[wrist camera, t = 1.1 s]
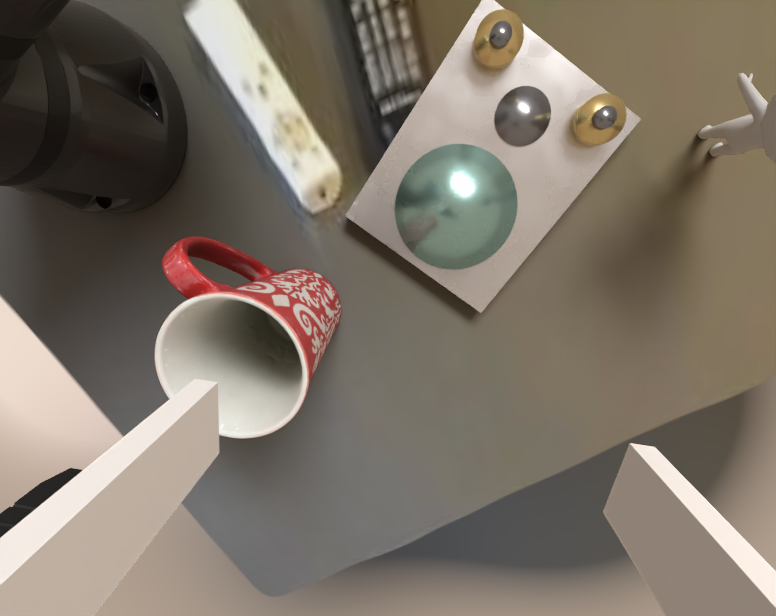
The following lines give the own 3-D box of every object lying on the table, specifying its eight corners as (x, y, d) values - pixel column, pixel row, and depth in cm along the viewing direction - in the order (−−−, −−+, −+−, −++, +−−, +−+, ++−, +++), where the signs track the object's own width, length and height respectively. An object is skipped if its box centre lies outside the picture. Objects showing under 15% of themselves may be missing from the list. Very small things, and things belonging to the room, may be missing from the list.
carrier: (347, 215, 30) (340, 216, 28) (482, 3, 26) (490, -23, 23) (478, 309, 32) (484, 319, 29) (631, 123, 27) (656, 112, 24)
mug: (371, 324, 33) (339, 399, 20) (292, 368, 35) (217, 462, 22) (293, 202, 31) (200, 197, 18) (214, 256, 32) (77, 287, 20)
